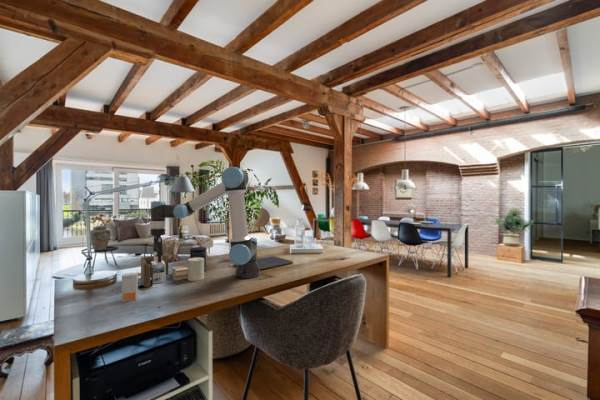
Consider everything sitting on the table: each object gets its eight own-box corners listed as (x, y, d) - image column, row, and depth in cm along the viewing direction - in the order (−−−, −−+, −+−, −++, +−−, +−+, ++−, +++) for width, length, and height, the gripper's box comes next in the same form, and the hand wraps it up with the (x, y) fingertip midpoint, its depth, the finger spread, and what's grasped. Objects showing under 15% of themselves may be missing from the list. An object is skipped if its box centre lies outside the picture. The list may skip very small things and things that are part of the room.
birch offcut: (189, 273, 167) (189, 268, 167) (176, 275, 162) (176, 270, 162) (184, 270, 174) (184, 265, 174) (172, 272, 169) (172, 267, 169)
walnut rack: (174, 282, 157) (174, 261, 156) (144, 287, 148) (144, 265, 148) (168, 273, 175) (168, 254, 175) (141, 277, 167) (140, 257, 167)
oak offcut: (189, 279, 166) (189, 273, 166) (174, 281, 162) (174, 276, 162) (185, 275, 174) (185, 270, 174) (171, 277, 170) (171, 272, 170)
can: (198, 281, 159) (198, 260, 159) (184, 280, 161) (184, 259, 161) (207, 276, 168) (207, 256, 168) (193, 276, 170) (193, 256, 170)
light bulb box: (166, 282, 158) (165, 263, 158) (152, 284, 154) (152, 264, 154) (163, 277, 167) (163, 259, 167) (150, 279, 163) (150, 261, 163)
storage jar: (209, 269, 185) (208, 247, 184) (202, 274, 175) (202, 250, 175) (194, 269, 186) (194, 246, 185) (187, 273, 176) (187, 249, 176)
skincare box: (121, 302, 128) (121, 276, 128) (123, 299, 132) (122, 273, 132) (136, 300, 130) (136, 274, 130) (138, 297, 134) (137, 272, 134)
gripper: (148, 226, 169) (147, 261, 169) (153, 230, 148) (152, 271, 148) (162, 225, 173) (161, 260, 173) (168, 230, 152) (168, 269, 152)
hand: (157, 265), depth 161 cm, fingers open, 13 cm apart
